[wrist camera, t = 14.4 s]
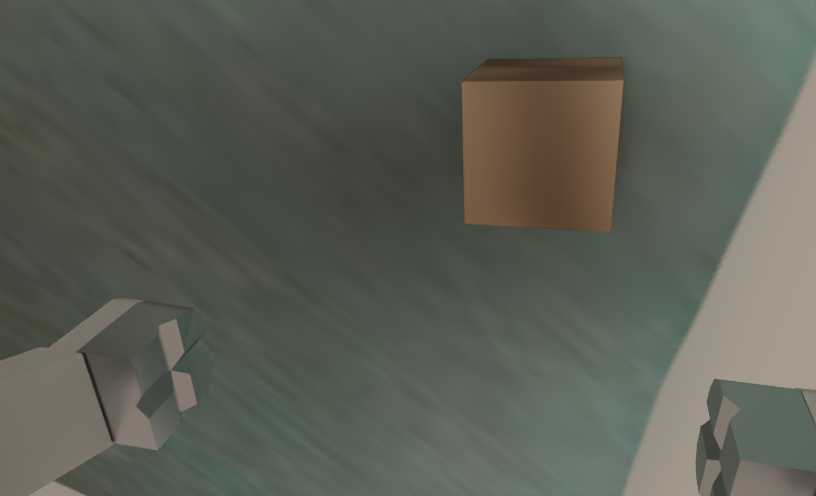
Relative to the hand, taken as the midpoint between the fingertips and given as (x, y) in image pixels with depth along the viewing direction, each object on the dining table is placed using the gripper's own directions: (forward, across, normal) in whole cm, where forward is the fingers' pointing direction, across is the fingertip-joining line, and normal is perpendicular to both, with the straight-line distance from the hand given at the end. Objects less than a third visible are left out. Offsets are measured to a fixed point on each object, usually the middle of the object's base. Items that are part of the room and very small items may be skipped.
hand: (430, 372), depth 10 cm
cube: (+17, -1, +1) cm, 17 cm away
